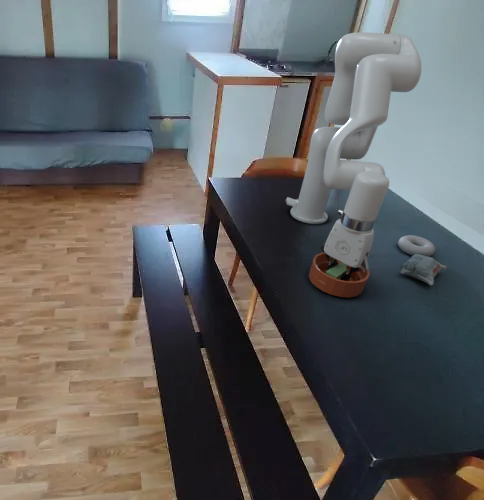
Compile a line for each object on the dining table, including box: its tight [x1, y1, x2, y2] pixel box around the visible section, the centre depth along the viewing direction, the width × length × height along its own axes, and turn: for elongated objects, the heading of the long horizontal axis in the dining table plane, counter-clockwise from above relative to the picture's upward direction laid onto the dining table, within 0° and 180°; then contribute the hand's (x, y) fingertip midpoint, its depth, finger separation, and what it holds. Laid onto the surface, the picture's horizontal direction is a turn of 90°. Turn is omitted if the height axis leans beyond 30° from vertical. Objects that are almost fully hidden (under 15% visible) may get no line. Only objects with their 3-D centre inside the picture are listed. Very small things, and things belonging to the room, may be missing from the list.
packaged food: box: [399, 254, 448, 286], centre depth 116 cm, size 9×12×5 cm
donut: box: [397, 234, 436, 257], centre depth 127 cm, size 10×4×10 cm
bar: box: [325, 262, 347, 280], centre depth 111 cm, size 8×3×4 cm, turn 126°
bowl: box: [308, 252, 371, 298], centre depth 111 cm, size 14×14×6 cm
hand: (336, 278), depth 112 cm, fingers closed on bar, 3 cm apart
